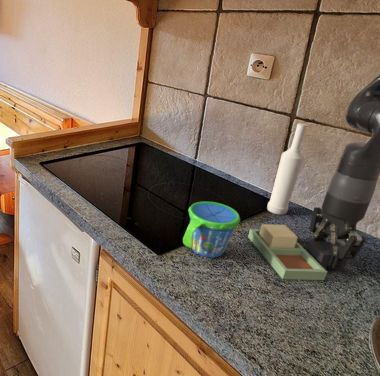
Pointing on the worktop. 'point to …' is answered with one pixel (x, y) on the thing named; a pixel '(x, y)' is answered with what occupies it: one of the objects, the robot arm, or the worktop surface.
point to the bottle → (287, 174)
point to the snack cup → (210, 228)
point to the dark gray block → (323, 253)
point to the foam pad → (277, 236)
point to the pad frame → (289, 260)
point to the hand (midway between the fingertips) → (323, 260)
